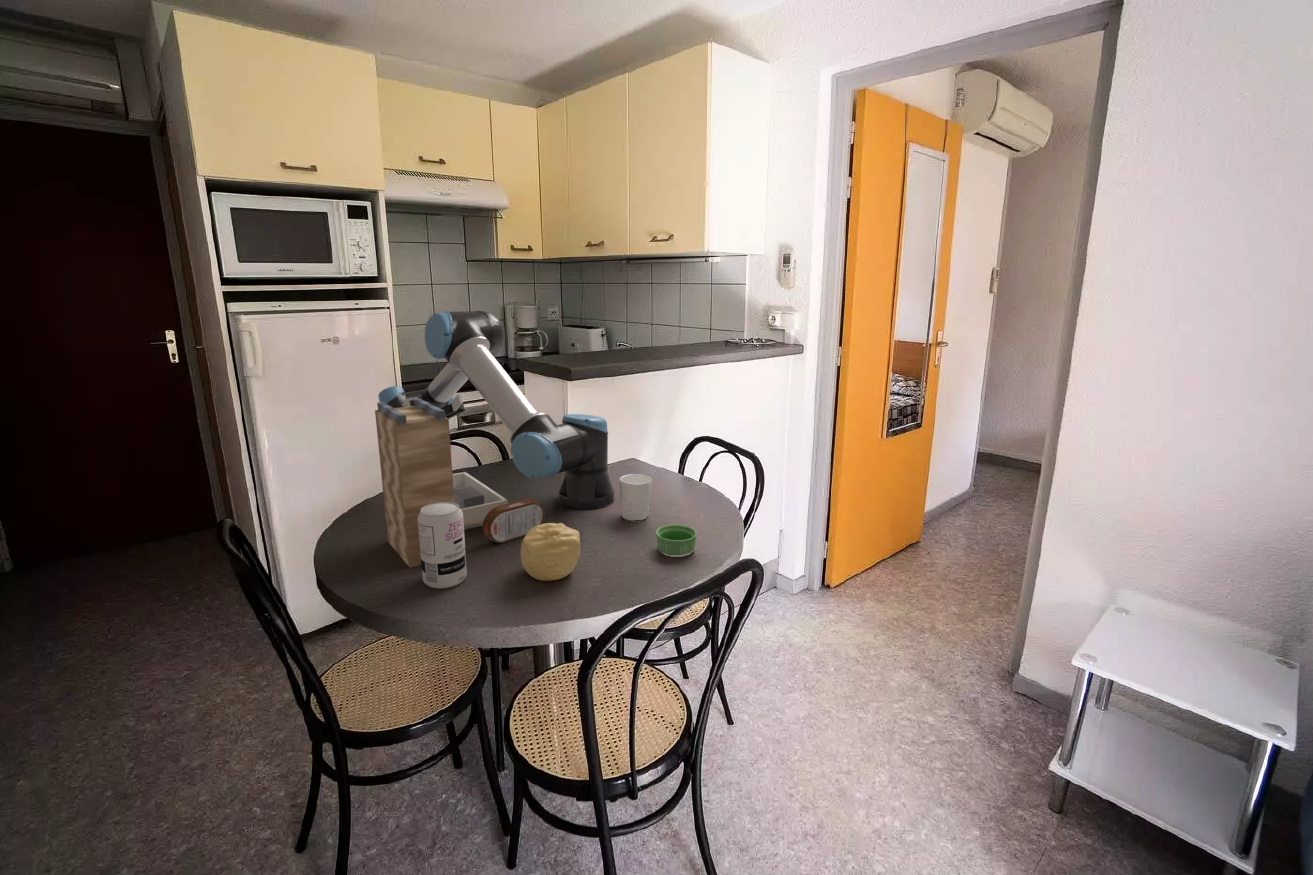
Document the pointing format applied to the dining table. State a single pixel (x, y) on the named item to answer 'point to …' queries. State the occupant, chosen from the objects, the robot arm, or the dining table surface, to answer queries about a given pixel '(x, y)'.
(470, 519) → the bin
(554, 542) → the sculpture
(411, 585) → the dining table surface
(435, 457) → the stand
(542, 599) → the dining table surface
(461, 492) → the dark grey rectangular block
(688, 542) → the ramekin
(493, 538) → the tin
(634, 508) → the white cup
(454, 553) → the supplement can
